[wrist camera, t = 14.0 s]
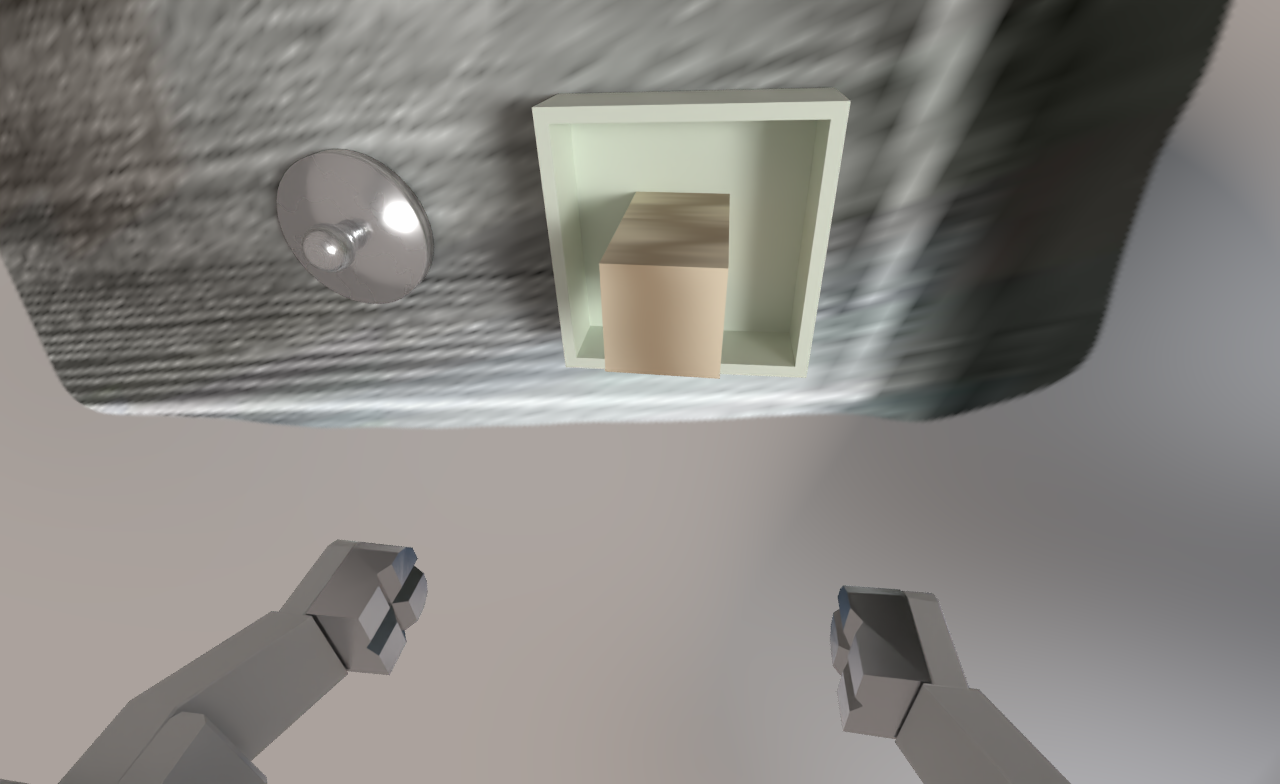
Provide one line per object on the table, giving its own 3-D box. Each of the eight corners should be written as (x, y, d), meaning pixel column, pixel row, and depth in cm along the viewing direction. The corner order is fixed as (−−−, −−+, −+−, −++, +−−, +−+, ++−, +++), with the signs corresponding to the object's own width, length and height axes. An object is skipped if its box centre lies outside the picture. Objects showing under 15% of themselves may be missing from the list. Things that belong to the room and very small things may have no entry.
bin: (557, 93, 25) (531, 107, 22) (834, 87, 23) (850, 100, 20) (582, 330, 32) (565, 367, 29) (798, 337, 30) (806, 377, 27)
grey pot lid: (319, 112, 27) (258, 128, 23) (459, 223, 29) (423, 252, 26) (270, 232, 31) (213, 260, 28) (396, 321, 33) (358, 358, 30)
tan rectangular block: (729, 193, 26) (728, 268, 19) (723, 281, 28) (719, 378, 21) (636, 191, 26) (598, 263, 19) (637, 278, 29) (605, 371, 22)
